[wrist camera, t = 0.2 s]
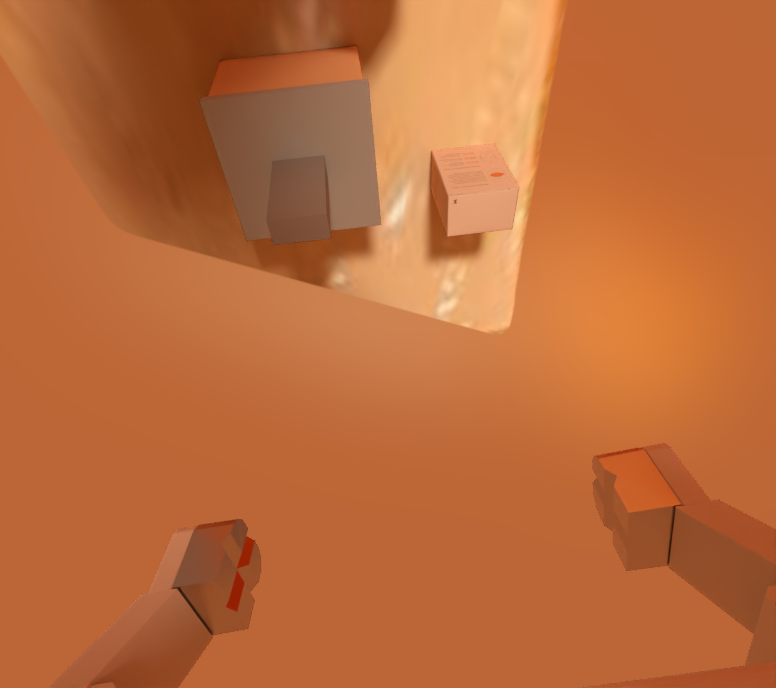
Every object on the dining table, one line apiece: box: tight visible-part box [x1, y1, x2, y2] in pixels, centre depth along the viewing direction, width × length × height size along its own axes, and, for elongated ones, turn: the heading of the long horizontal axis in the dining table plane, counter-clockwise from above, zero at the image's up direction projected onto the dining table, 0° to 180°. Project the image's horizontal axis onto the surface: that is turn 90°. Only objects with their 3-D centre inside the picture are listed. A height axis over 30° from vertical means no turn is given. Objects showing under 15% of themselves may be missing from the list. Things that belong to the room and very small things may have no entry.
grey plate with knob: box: [199, 79, 381, 245], centre depth 45 cm, size 15×15×11 cm
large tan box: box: [208, 46, 363, 96], centre depth 52 cm, size 14×14×10 cm
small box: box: [431, 143, 519, 237], centre depth 58 cm, size 8×6×10 cm
